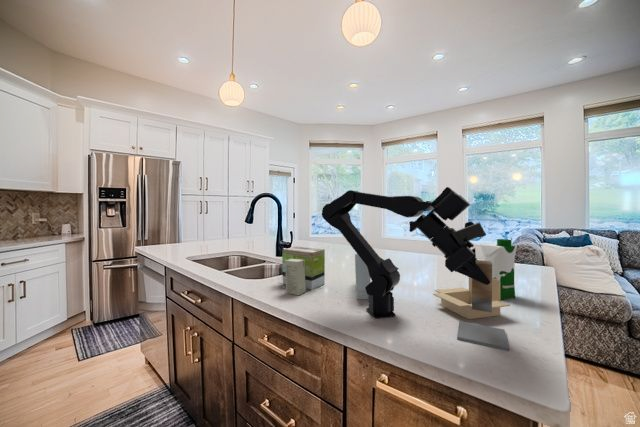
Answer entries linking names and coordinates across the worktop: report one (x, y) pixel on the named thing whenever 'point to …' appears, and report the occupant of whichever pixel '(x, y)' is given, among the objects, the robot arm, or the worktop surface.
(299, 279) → the skincare box
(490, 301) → the walnut box
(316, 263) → the tea box
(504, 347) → the slate coaster
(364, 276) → the skincare box
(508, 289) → the milk carton
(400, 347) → the worktop surface
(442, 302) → the cardboard carton
